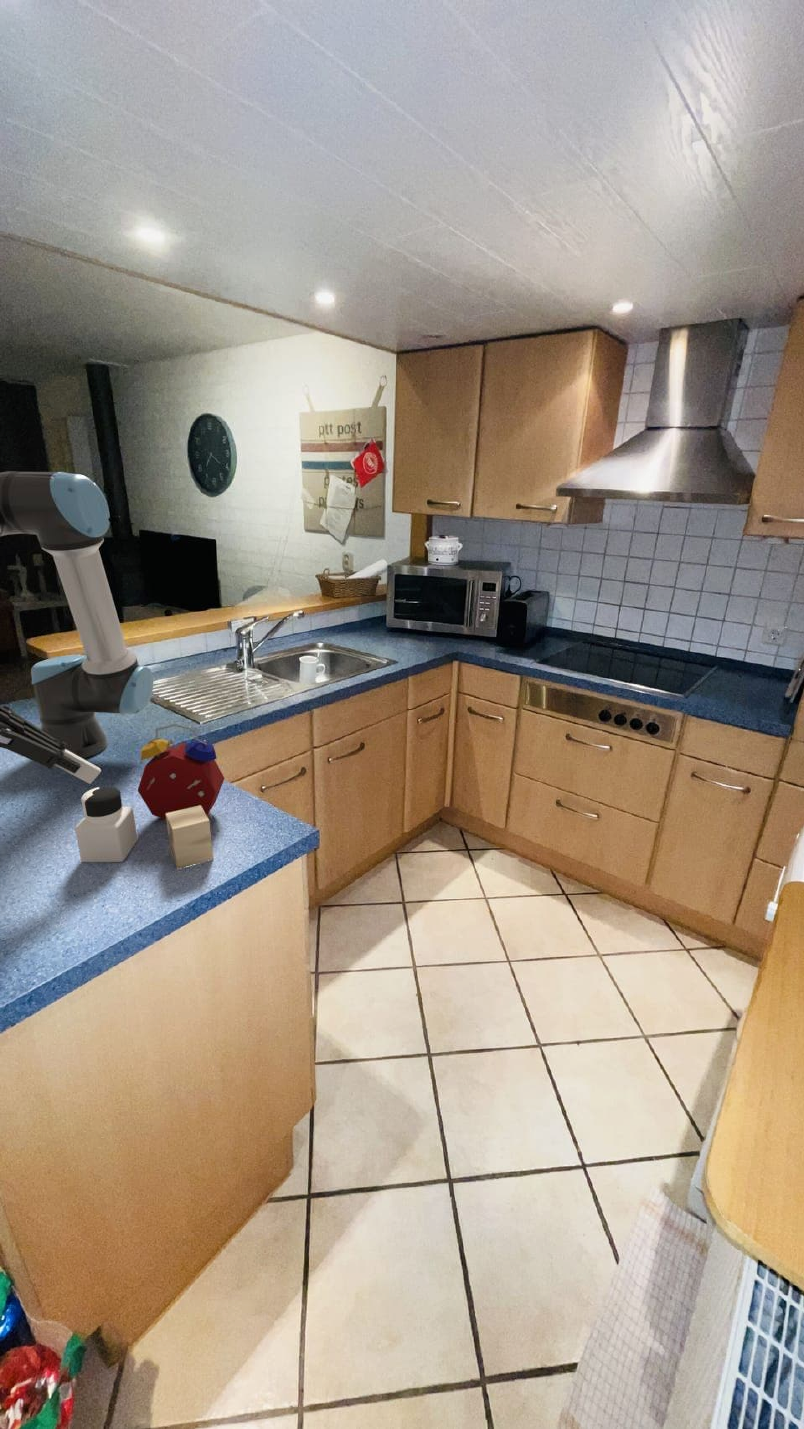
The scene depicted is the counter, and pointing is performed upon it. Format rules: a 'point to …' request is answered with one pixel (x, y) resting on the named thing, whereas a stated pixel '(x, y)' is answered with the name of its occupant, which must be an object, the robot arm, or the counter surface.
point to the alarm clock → (179, 775)
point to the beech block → (189, 836)
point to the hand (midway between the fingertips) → (95, 776)
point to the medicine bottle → (105, 827)
